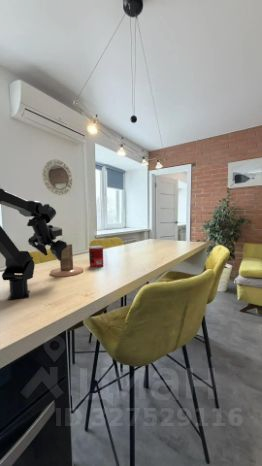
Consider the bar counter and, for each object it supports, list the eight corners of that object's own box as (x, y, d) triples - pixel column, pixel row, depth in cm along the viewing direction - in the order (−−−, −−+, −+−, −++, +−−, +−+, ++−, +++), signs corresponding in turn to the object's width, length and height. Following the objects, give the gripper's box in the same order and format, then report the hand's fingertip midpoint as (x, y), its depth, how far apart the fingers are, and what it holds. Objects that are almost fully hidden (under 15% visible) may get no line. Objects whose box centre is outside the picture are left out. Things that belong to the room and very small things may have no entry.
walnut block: (68, 271, 109) (67, 245, 108) (60, 271, 110) (59, 245, 109) (73, 269, 113) (72, 244, 112) (65, 268, 114) (64, 244, 114)
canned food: (105, 264, 128) (104, 245, 127) (100, 267, 121) (99, 247, 120) (93, 264, 130) (92, 245, 129) (87, 267, 123) (86, 247, 122)
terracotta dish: (85, 274, 107) (85, 271, 107) (50, 278, 102) (50, 275, 101) (80, 267, 122) (80, 265, 122) (50, 270, 116) (49, 268, 116)
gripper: (70, 223, 93) (80, 251, 102) (41, 216, 102) (52, 243, 111) (51, 238, 86) (63, 267, 95) (21, 229, 95) (34, 256, 103)
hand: (53, 257), depth 101 cm, fingers open, 9 cm apart
